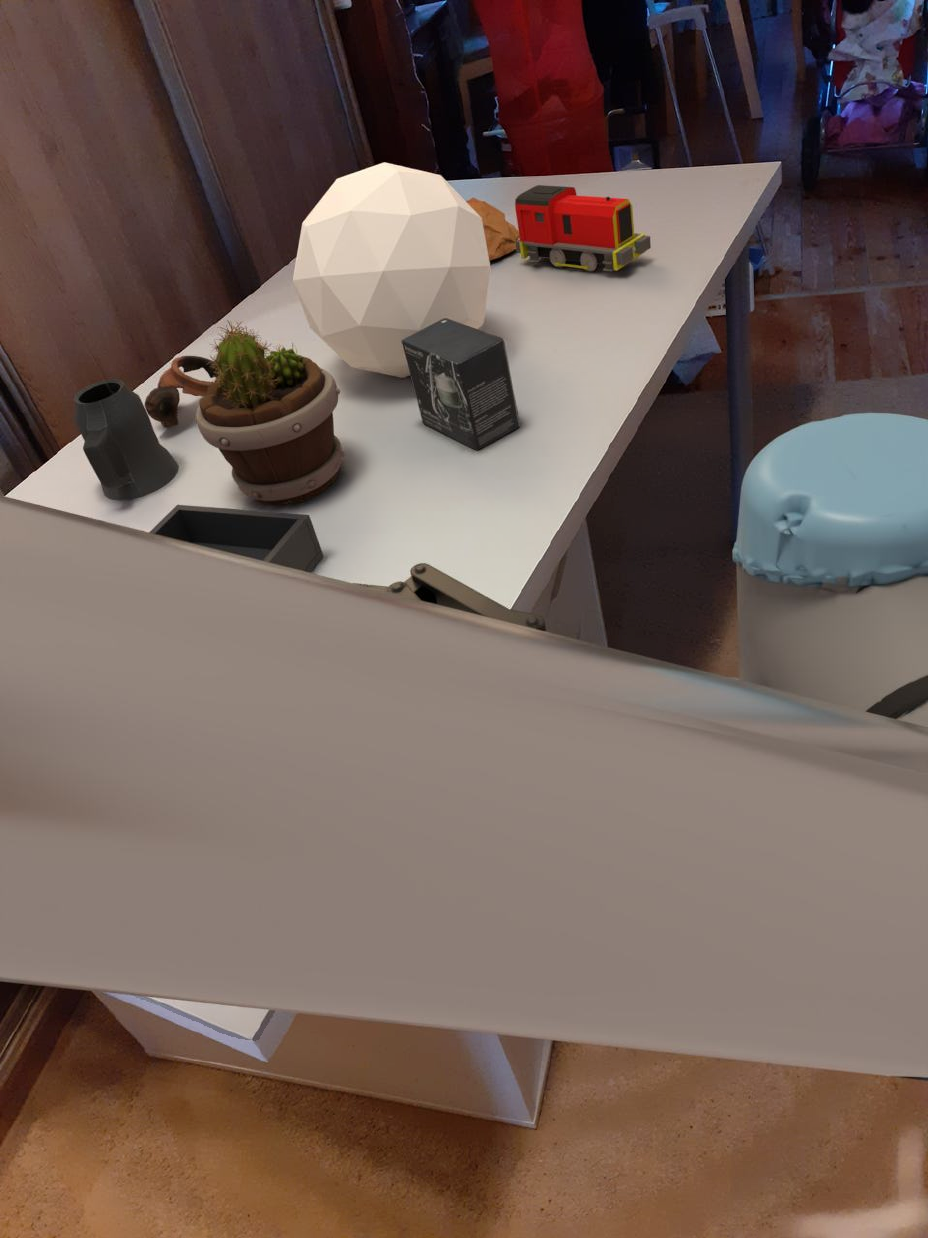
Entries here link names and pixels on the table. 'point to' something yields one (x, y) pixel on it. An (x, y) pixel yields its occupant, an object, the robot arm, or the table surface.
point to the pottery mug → (166, 396)
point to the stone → (495, 229)
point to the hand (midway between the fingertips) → (227, 682)
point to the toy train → (577, 228)
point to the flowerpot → (271, 419)
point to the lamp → (389, 264)
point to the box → (462, 382)
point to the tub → (246, 534)
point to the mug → (121, 441)
